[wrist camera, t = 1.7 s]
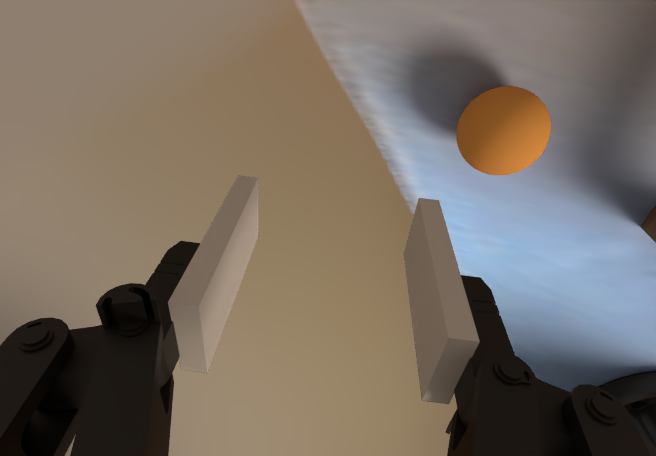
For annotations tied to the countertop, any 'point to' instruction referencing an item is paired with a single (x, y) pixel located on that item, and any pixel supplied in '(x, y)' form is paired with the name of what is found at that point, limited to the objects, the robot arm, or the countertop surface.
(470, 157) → the ball
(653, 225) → the bridge
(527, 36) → the countertop surface
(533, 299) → the countertop surface
